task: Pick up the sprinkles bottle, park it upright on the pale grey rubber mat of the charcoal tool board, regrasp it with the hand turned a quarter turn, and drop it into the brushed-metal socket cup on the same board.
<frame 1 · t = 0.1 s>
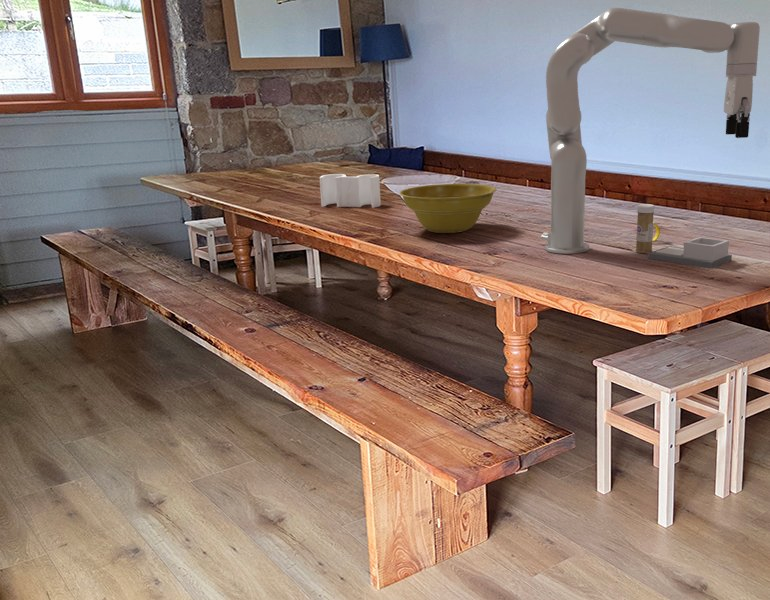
hand: (736, 135, 223), 31 cm above the table, tool pointing down, fingers open, 9 cm apart
bracket: (351, 206, 331), on the table
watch: (649, 242, 243), on the table
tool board: (689, 259, 220), on the table
planter bowl: (448, 230, 274), on the table
sprinkles bottle: (643, 252, 231), on the table
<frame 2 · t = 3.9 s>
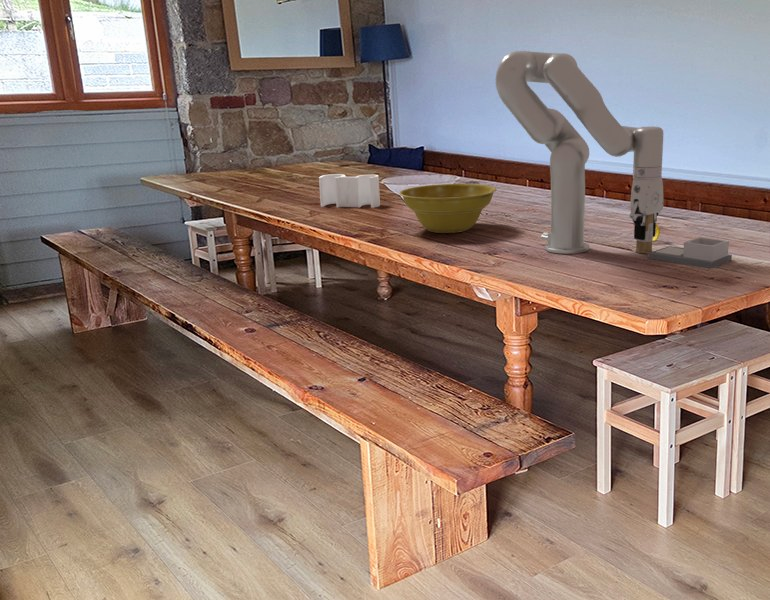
hand: (644, 236, 229), 4 cm above the table, tool pointing down, fingers closed on sprinkles bottle, 4 cm apart
sprinkles bottle: (643, 252, 231), on the table, touching gripper
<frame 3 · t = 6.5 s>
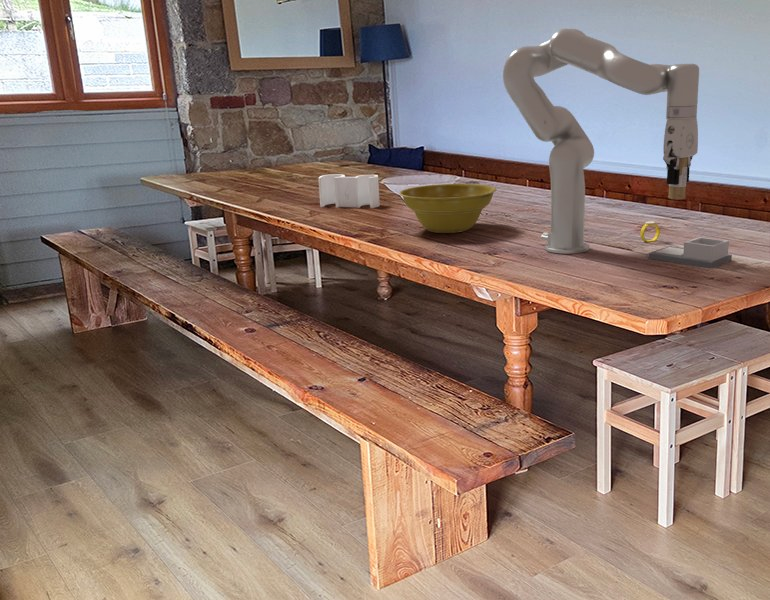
hand: (677, 182, 218), 21 cm above the table, tool pointing down, fingers closed on sprinkles bottle, 4 cm apart
sprinkles bottle: (677, 199, 219), point 16 cm above the table, touching gripper
when the fingers open (7 cm above the table, at t = 9.2 s): sprinkles bottle stays where it is, resting on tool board.
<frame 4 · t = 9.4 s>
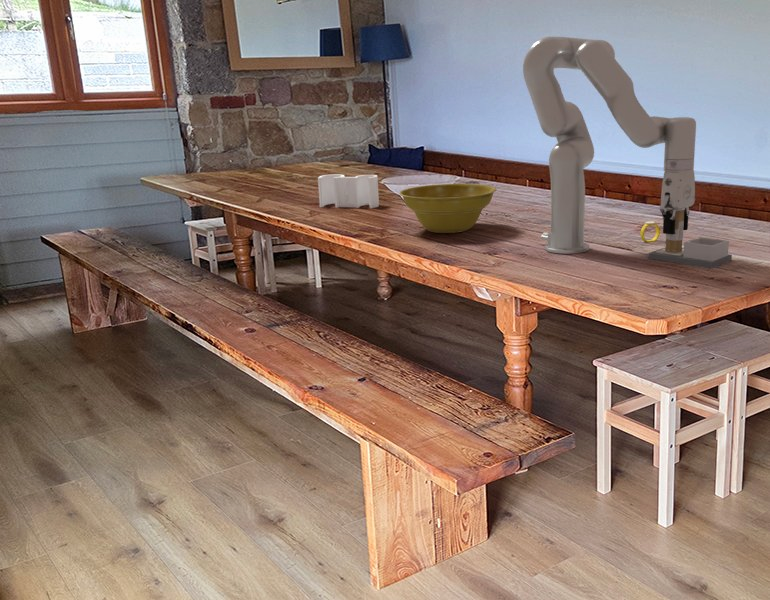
hand: (675, 231, 221), 7 cm above the table, tool pointing down, fingers open, 6 cm apart
sprinkles bottle: (673, 251, 223), point 2 cm above the table, touching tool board
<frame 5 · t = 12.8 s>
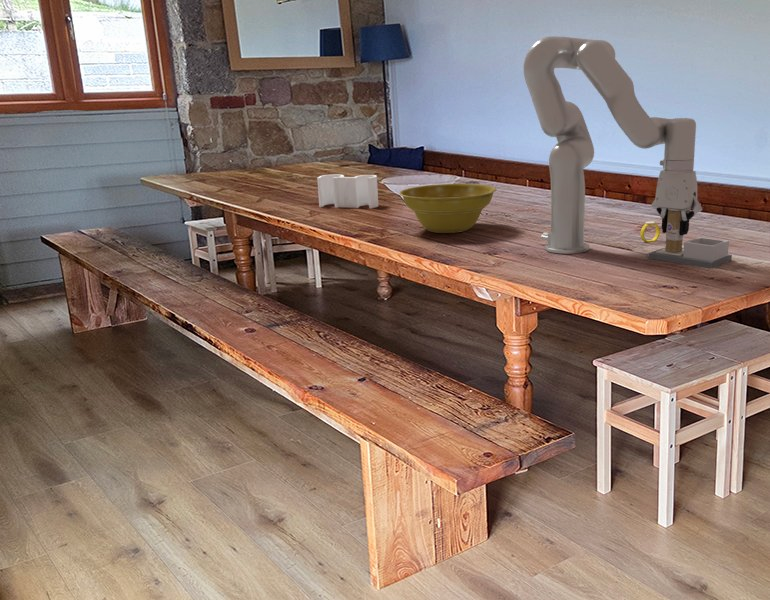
hand: (674, 232, 222), 7 cm above the table, tool pointing down, fingers closed on sprinkles bottle, 4 cm apart
sprinkles bottle: (673, 251, 223), point 2 cm above the table, touching gripper, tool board
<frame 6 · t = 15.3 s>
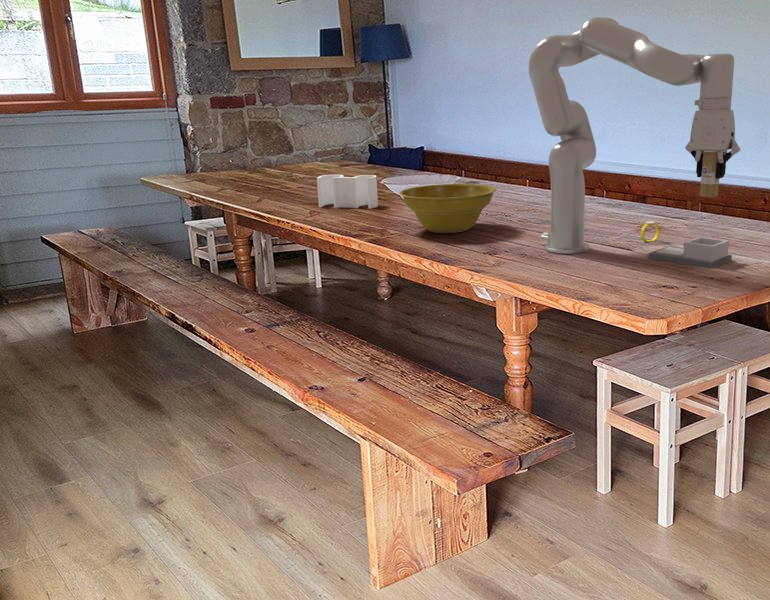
hand: (710, 176, 211), 23 cm above the table, tool pointing down, fingers closed on sprinkles bottle, 4 cm apart
sprinkles bottle: (709, 196, 212), point 17 cm above the table, touching gripper
when the fingers open (8 cm above the table, at t = 18.2 s): sprinkles bottle drops 1 cm, resting on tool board.
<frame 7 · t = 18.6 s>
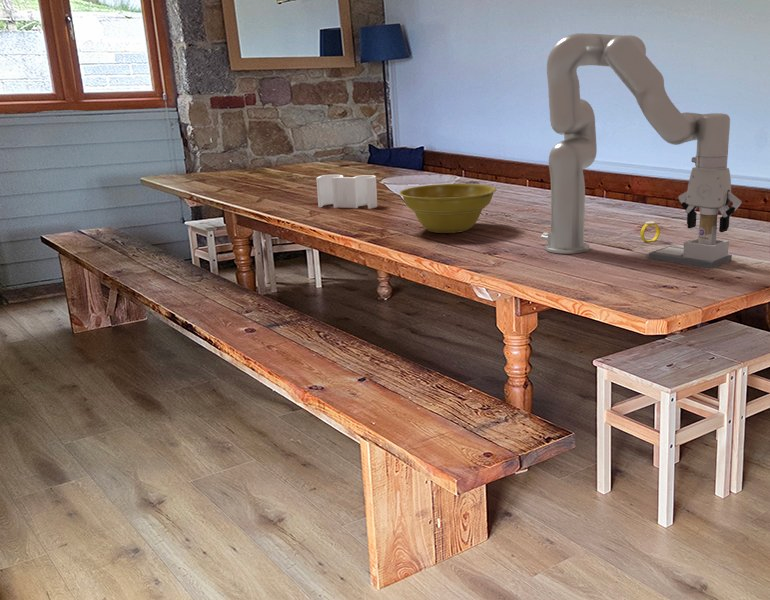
hand: (707, 229, 215), 9 cm above the table, tool pointing down, fingers open, 8 cm apart
sprinkles bottle: (706, 257, 216), point 1 cm above the table, touching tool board
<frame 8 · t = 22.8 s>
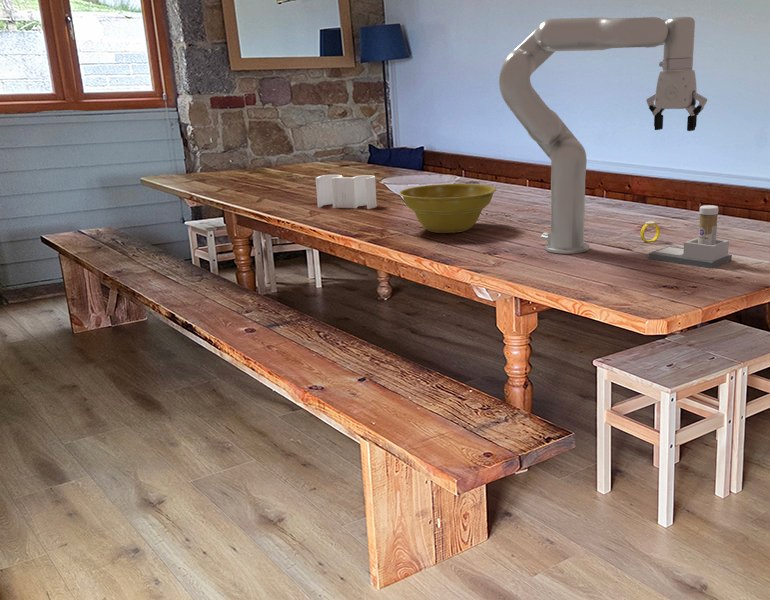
hand: (674, 130, 224), 33 cm above the table, tool pointing down, fingers open, 9 cm apart
at the end: sprinkles bottle 0.2 cm from the target spot on the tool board, point 1.3 cm above the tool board's base; sprinkles bottle tilted 0°; the gripper is holding nothing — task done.
